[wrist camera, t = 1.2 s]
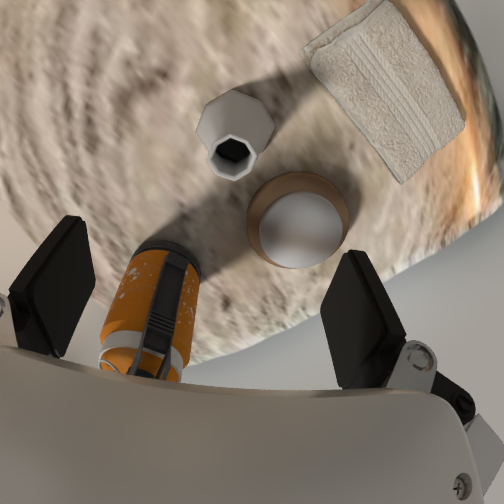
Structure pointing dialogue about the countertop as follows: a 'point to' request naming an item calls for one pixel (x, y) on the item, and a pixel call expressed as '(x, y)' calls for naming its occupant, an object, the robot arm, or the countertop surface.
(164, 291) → the canister
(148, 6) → the countertop surface
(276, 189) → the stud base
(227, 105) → the flask
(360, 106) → the washcloth
